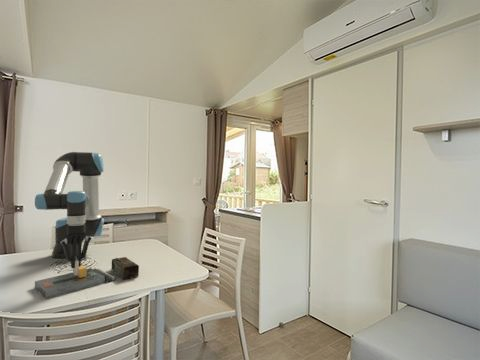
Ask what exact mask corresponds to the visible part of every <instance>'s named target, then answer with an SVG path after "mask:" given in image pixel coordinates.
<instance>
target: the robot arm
mask: <svg viewBox="0 0 480 360" xmlns="http://www.w3.org/2000/svg"><path fill="white" fill-rule="evenodd" d="M52 169H53V170H52V173H51V176H50V178H49V180H48V182H47V185H46V187H45V189H44V192H43V193H38V194H36V195H35V198H34V206H35V209H37V210H46V211H48V210H49V211H50V210H66V217H61V218H60V219H59V218H58V219H57V220H56V222H55V227H54V228H55V236H54V237H55V243H54V247H53V249H52V253H51V257H52V258H53V259H66V260H67V261H69V262H70V267H71V269H72V273H73V274H74V275H79V267H80V266H82V260H83V259H85V258H86V255H87V252H88V247H89V245H90V242H91V241H92V238H95V237H100V236H101V235H102V234H103V230H104V229H103V228H104V224H105V223H104V222H105V218H103V217H102V215H101V214H100V210H99V209H100V207H99V206H100V202H99V201H100V199H99V196H100V195H99V193H100V192H99V178H100V177H101V175H102V173H103V172H104V170H105V169H104V161H103V156H102V154H101V153H99V152H85V151H84V152H83V151H81V152H80V151H79V152H77V151H71V152H67V153H64V154H63V155H60V156H59V157H58V158H57V159H56V160H55V162H54V163H53V165H52ZM73 172H79V176H80V177H81V178H82V190H72V191H71V190H69V191H68V192H67V193H63V192H64V189H65V187H66V184H67V181H68V178H69V176H70V174H71V173H73Z"/></svg>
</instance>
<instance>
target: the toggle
mask: <svg viewBox="0 0 480 360" xmlns="http://www.w3.org/2000/svg"><path fill="white" fill-rule="evenodd" d="M87 269H88V268H87V267H86V266H84V265H82V264H81V266H80V267H79V275H76V276H78V277H79V278H81V277H85V276H87Z"/></svg>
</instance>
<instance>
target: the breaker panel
mask: <svg viewBox="0 0 480 360" xmlns="http://www.w3.org/2000/svg"><path fill="white" fill-rule="evenodd" d="M93 269H94V268H87V276H85V277H81V278H79V277H78V276H76V275H74V274H73V272H69V273H65V274H61V275H56V276H52V277H48V278H44V279H43V278H42V279H39V280H35V281H34V289H35V290H36V291H37V292H38V293H39V294H40V295H41V296H42V297H43V298H44V299H45V300H48V299H52V298H55V297H58V296H61V295H65V294H68V293H72V292H76V291H79V290H83V289H87V288H90V287H94V286H97V285H100V284H101V285H102V284H105V282H106V280H105V276H103V275H102V274H100V273H98V272H96V271H95V270H93Z"/></svg>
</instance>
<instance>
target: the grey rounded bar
mask: <svg viewBox="0 0 480 360" xmlns="http://www.w3.org/2000/svg"><path fill="white" fill-rule="evenodd" d="M92 269H93V270H95V271H96V272H98V273H100V274H102V275H103V276H105V282H111V281H114V280H115V279H116V277H115V276H113V275H112V274H109V273H108V272H106V271H104V270H103V269H100V268H92Z"/></svg>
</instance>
